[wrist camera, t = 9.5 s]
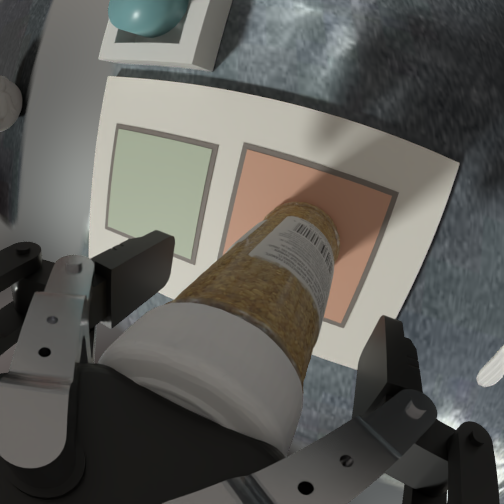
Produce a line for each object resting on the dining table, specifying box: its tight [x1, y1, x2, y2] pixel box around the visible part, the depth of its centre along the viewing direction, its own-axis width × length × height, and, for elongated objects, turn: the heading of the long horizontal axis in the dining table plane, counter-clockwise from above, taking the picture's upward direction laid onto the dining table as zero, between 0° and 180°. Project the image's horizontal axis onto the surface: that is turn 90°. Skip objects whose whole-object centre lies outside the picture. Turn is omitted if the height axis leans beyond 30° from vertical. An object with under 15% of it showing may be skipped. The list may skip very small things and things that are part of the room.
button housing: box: [98, 0, 233, 72], centre depth 15 cm, size 7×7×3 cm
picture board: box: [89, 76, 460, 370], centre depth 19 cm, size 22×14×1 cm, turn 76°
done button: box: [108, 0, 189, 38], centre depth 13 cm, size 4×4×2 cm
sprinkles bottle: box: [98, 202, 340, 457], centre depth 12 cm, size 5×5×13 cm
